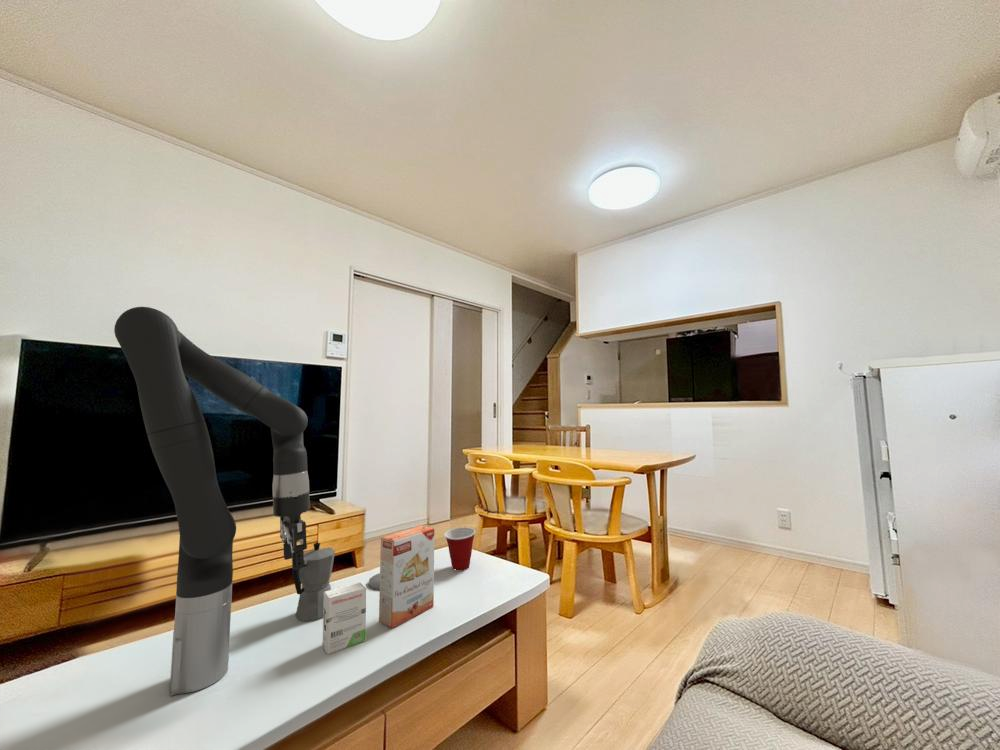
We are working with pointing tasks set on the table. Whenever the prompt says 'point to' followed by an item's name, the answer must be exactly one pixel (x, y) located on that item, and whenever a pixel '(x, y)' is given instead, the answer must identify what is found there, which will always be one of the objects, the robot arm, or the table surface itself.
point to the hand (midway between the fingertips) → (293, 563)
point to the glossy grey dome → (375, 581)
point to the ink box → (344, 617)
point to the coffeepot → (313, 582)
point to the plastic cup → (460, 546)
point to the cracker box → (406, 575)
